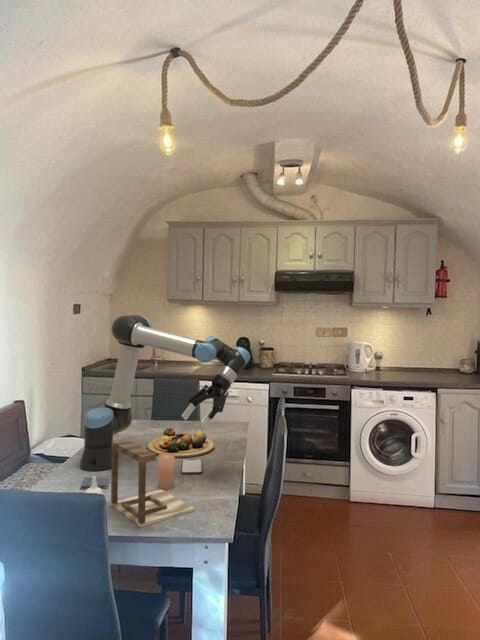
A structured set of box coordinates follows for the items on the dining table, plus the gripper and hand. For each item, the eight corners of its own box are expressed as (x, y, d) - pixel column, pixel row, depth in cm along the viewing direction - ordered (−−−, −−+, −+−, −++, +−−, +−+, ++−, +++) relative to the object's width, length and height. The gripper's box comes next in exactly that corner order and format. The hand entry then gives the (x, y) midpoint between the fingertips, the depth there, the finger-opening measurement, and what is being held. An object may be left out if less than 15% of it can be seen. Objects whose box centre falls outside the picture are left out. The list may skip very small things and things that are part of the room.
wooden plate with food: (142, 441, 248) (143, 425, 247) (204, 437, 258) (205, 421, 257) (152, 463, 217) (152, 444, 217) (221, 456, 227) (222, 439, 227)
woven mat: (111, 480, 194) (111, 475, 194) (108, 490, 184) (108, 485, 184) (83, 481, 192) (83, 476, 192) (79, 491, 182) (79, 486, 182)
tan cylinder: (155, 486, 187) (155, 454, 187) (168, 482, 191) (169, 452, 191) (163, 491, 183) (163, 458, 182) (177, 487, 187) (177, 455, 186)
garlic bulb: (82, 503, 172) (81, 481, 171) (87, 494, 178) (86, 473, 177) (100, 503, 172) (100, 481, 171) (104, 494, 178) (104, 473, 177)
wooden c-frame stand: (110, 505, 169) (111, 441, 168) (161, 492, 182) (162, 432, 181) (140, 527, 153) (141, 456, 152) (194, 511, 166) (195, 445, 165)
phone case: (202, 476, 201) (202, 462, 217) (202, 472, 201) (202, 459, 217) (180, 476, 201) (181, 462, 217) (180, 472, 201) (181, 459, 216)
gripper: (248, 389, 195) (218, 433, 186) (210, 381, 214) (181, 421, 205) (238, 377, 191) (206, 421, 182) (201, 370, 210) (170, 409, 201)
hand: (193, 421), depth 194 cm, fingers open, 13 cm apart
